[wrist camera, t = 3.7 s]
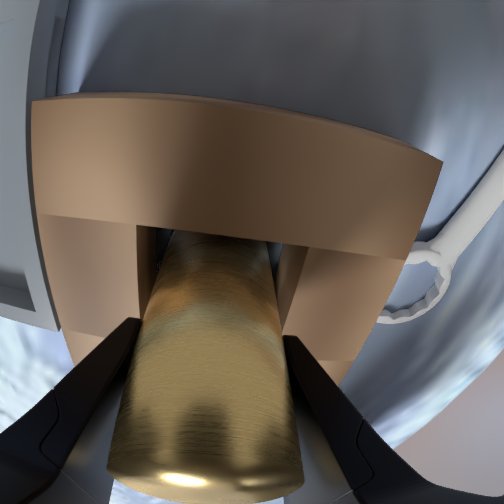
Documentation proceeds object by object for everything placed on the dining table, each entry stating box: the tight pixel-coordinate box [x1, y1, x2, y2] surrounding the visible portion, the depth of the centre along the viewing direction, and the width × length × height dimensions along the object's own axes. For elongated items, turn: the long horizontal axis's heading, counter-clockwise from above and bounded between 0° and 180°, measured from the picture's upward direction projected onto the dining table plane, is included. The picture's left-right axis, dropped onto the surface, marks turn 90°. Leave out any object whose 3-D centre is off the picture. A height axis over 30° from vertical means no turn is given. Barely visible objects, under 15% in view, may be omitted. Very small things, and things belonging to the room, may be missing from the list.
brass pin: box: [106, 229, 305, 504], centre depth 9 cm, size 4×4×9 cm
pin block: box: [31, 92, 443, 386], centre depth 11 cm, size 12×12×3 cm
